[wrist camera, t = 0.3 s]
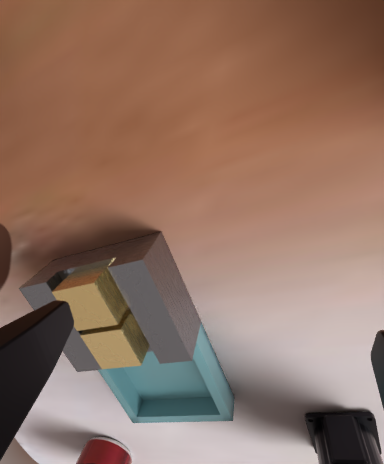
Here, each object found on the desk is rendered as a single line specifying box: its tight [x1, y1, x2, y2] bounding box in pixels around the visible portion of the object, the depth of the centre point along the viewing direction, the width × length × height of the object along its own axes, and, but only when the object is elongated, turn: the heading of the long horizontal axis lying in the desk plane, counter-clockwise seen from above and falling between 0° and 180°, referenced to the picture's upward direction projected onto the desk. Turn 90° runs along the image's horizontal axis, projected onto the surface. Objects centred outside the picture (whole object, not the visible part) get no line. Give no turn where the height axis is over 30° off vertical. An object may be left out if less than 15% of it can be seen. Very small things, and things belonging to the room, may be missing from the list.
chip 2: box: [80, 309, 150, 369], centre depth 25 cm, size 4×4×2 cm
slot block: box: [19, 232, 201, 372], centre depth 26 cm, size 10×12×4 cm
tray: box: [98, 323, 234, 423], centre depth 30 cm, size 11×12×2 cm
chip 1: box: [52, 265, 128, 331], centre depth 23 cm, size 4×4×2 cm
